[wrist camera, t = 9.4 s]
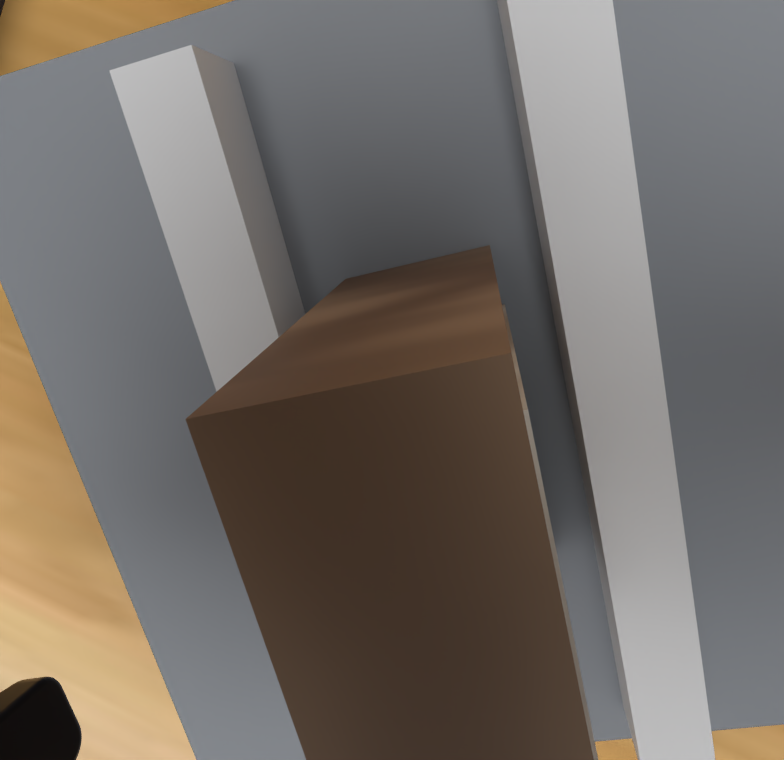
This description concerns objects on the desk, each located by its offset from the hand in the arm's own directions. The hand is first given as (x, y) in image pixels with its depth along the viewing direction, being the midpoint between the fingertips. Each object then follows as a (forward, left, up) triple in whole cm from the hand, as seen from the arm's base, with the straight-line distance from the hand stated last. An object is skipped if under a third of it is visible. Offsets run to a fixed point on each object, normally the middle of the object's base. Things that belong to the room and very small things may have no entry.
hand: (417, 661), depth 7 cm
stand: (0, 0, -9) cm, 9 cm away
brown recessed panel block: (0, 0, -7) cm, 7 cm away
